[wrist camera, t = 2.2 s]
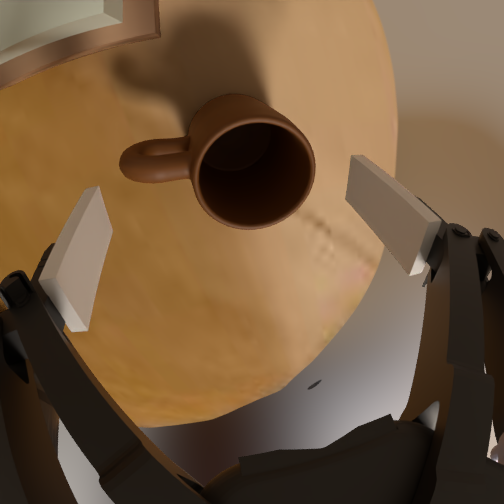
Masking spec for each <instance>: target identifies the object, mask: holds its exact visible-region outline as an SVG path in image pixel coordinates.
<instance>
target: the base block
mask: <svg viewBox="0 0 504 504" xmlns="http://www.w3.org/2000/svg"><path fill="white" fill-rule="evenodd" d="M160 37H161V34H160V19H159V1H158V0H123V23H119V24H114V25H110V26H105V27H101V28H97V29H93V30H90V31H86V32H83V33H79V34H76V35H73V36H69V37H66V38H63V39H60V40H57V41H55V42H52V43H49V44H46V45H44V46H41V47H38V48H36V49H34V50H31V51H29V52H26V53H24V54H22V55H19V56H17V57H15V58H13V59H11V60H9V61H7V62H4V63H2V64H0V90H1V89H4V88H7V87H10V86H12V85H14V84H16V83H18V82H20V81H22V80H25V79H27V78H29V77H31V76H33V75H36V74H38V73H40V72H43V71H45V70H47V69H50V68H52V67H55V66H58V65H60V64H63V63H66V62H68V61H71V60H74V59H77V58H80V57H83V56H86V55H89V54H92V53H96V52H99V51H103V50H106V49H110V48H114V47H118V46H122V45H126V44H130V43H134V42H139V41H144V40H149V39H154V38H160Z"/></svg>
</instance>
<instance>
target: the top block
mask: <svg viewBox="0 0 504 504" xmlns="http://www.w3.org/2000/svg"><path fill="white" fill-rule="evenodd" d="M119 23H123V0H0V64H2V63H4V62H7V61H9V60H11V59H13V58H15V57H17V56H19V55H22V54H24V53H26V52H29V51H31V50H34V49H36V48H38V47H41V46H44V45H46V44H49V43H52V42H55V41H57V40H60V39H63V38H66V37H69V36H73V35H76V34H79V33H83V32H86V31H90V30H93V29H97V28H101V27H105V26H110V25H114V24H119Z"/></svg>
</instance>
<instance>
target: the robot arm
mask: <svg viewBox="0 0 504 504" xmlns="http://www.w3.org/2000/svg"><path fill="white" fill-rule="evenodd" d="M345 199H346V200H347V202H348V203H349V204H350V205H351V206H352V207H353V208H354V209H355V211H356V212H357V213H358V214H359V215H360V216H361V217H362V219H363V220H364V221H365V222H366V223H367V224H368V226H369V227H370V228H371V229H372V230H373V231H374V233H375V234H376V235H377V236H378V237H379V239H380V240H381V241H382V242H383V243H384V245H385V246H386V247H387V248H388V250H389V251H390V252H391V253H392V255H393V256H394V257H395V258H396V260H397V261H398V262H399V263H400V264H401V266H402V267H403V269H404V270H405V271H406V273H407V274H408V275H409V276H411V275H415V274H418V273H422V270H423V268H424V265H425V264H426V262H427V263H428V264H429V265H430V270H429V272H428V274H427V276H426V279H425V281H424V283H423V287H425V285H426V284H427V293H426V304H425V312H424V320H423V328H422V335H421V341H420V348H419V353H418V359H417V364H416V369H415V375H414V379H413V383H412V388H411V392H410V396H409V400H408V403H407V406H406V408H405V410H404V411H403V413H402V415H401V417H400V419H399V420H398V421H397V420H393V418H392V416H391V414H389V415H386V416H384V417H382V418H379V419H377V420H374V421H371V422H369V423H366V424H364V425H361V426H358V427H357V428H355V429H354V430H352V431H351V432H349V433H347V434H346V435H345V436H343V437H341V438H340V439H338V440H336V441H335V442H333V443H332V444H330V445H328V446H327V447H324V448H321V449H301V450H300V449H298V450H275V451H271V452H266V453H261V454H255V455H250V456H244V457H239V464H236V465H234V466H232V467H230V468H228V469H226V470H224V471H223V472H221V473H220V474H219V475H217V476H215V477H214V478H213V479H212V480H211V481H210V482H209V483H208V484H207V485H206V486H205V487H204V486H202V485H201V484H200V483H199V482H197V481H196V480H195V479H194V478H193V477H191V476H190V475H189V474H188V473H186V472H185V471H184V470H183V469H181V468H180V467H179V466H177V465H176V464H175V463H173V461H172V460H170V459H169V458H168V457H167V456H166V455H165V454H164V453H163V452H162V451H161V450H160V449H159V448H158V447H157V446H156V445H155V444H154V443H153V442H152V441H151V440H149V438H148V437H147V436H146V435H145V434H144V433H143V432H142V431H141V430H140V429H139V428H138V427H137V426H136V425H135V424H134V423H133V421H132V420H131V419H130V418H129V417H128V416H127V415H126V414H125V413H124V411H123V410H122V409H121V408H120V407H119V406H118V404H117V403H116V402H115V401H114V400H113V398H112V397H111V396H110V395H109V394H108V392H107V391H106V390H105V389H104V387H103V386H102V385H101V384H100V382H99V381H98V380H97V378H96V377H95V376H94V374H93V373H92V372H91V370H90V369H89V368H88V366H87V365H86V363H85V362H84V361H83V359H82V358H81V356H80V355H79V354H78V352H77V351H76V349H75V348H74V346H73V345H72V343H71V342H70V340H69V339H68V337H67V336H66V334H65V333H64V332H63V329H64V325H65V323H66V324H67V326H68V327H69V329H70V330H71V332H79V331H88V328H89V323H90V318H91V313H92V308H93V304H94V299H95V295H96V291H97V287H98V283H99V279H100V275H101V271H102V267H103V264H104V260H105V256H106V253H107V249H108V246H109V243H110V239H111V236H112V233H113V229H112V226H111V223H110V220H109V217H108V214H107V211H106V208H105V205H104V202H103V198H102V195H101V192H100V188H99V186H96V187H91V188H87V189H85V191H84V192H83V194H82V196H81V197H80V199H79V201H78V202H77V204H76V206H75V208H74V209H73V211H72V213H71V215H70V216H69V218H68V220H67V222H66V224H65V226H64V228H63V229H62V231H61V233H60V235H59V237H58V239H57V241H56V243H53V244H51V245H50V246H49V247H48V248H47V249H46V251H45V252H44V254H43V256H42V258H41V261H40V262H39V264H38V266H37V268H36V270H35V273H34V275H33V277H32V279H31V281H29V279H28V277H27V275H26V274H25V272H23V271H21V270H18V271H14V272H12V273H11V274H9V275H8V276H7V277H5V278H4V279H3V281H2V282H1V284H0V298H1V299H2V300H3V302H4V303H5V305H6V306H7V307H8V310H5V311H3V312H1V313H0V504H78V503H77V501H76V499H75V497H74V495H73V493H72V490H71V488H70V486H69V484H68V482H67V480H66V477H65V475H64V472H63V470H62V468H61V465H60V463H59V460H58V430H59V418H60V419H61V421H62V422H63V424H64V425H65V427H66V429H67V430H68V432H69V433H70V435H71V436H72V438H73V439H74V441H75V442H76V444H77V445H78V447H79V448H80V449H81V451H82V452H83V453H84V455H85V456H86V458H87V459H88V460H89V462H90V463H91V464H92V465H93V467H94V468H95V469H96V471H97V472H98V474H99V476H100V478H99V483H100V485H101V487H102V489H103V490H104V491H105V492H106V494H107V495H108V496H109V498H110V499H111V500H112V501H113V502H114V503H115V504H504V240H503V238H502V237H501V236H500V235H499V234H498V232H496V231H494V230H493V229H489V228H484V229H483V230H482V232H481V234H480V236H479V237H476V236H472V235H471V233H470V232H469V231H468V230H467V229H466V228H464V227H463V226H461V225H459V224H454V223H450V224H447V223H446V222H445V221H444V220H443V219H442V218H441V217H440V216H439V215H438V214H437V213H435V212H434V211H433V210H432V209H431V208H430V207H429V206H427V205H426V204H425V203H424V202H423V201H422V200H421V199H420V198H418V197H416V196H414V195H413V194H412V193H411V192H409V191H408V190H407V189H406V188H405V187H403V186H402V185H401V184H400V183H399V182H397V181H396V180H395V179H394V178H392V177H391V176H390V175H389V174H387V173H386V172H385V171H384V170H382V169H381V168H380V167H378V166H377V165H376V164H374V163H373V162H372V161H370V160H369V159H368V158H366V157H365V156H364V155H351V161H350V169H349V176H348V184H347V191H346V198H345ZM491 270H492V277H491V279H490V280H488V278H487V276H488V274H489V273H490V271H491ZM484 363H485V368H486V374H485V372H484ZM492 420H493V426H494V432H495V436H496V440H497V443H498V445H496V446H495V447H494V448H493V449H492V451H491V455H490V457H491V459H490V458H488V457H487V452H488V446H489V440H490V433H491V425H492Z"/></svg>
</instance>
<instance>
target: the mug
mask: <svg viewBox="0 0 504 504" xmlns="http://www.w3.org/2000/svg"><path fill="white" fill-rule="evenodd" d="M119 167H120V170H121V171H122V173H123V174H124V175H125V177H127V178H129V179H131V180H133V181H135V182H142V183H162V182H168V181H174V180H180V179H190V180H191V182H192V185H193V189H194V192H195V195H196V198H197V200H198V202H199V204H200V205H201V207H202V208H203V209H204V210H205V212H206V213H207V214H208V215H209V216H211V217H212V218H213V219H215V220H216V221H218V222H220V223H222V224H224V225H226V226H229V227H232V228H236V229H244V230H253V229H261V228H265V227H269V226H272V225H275V224H277V223H279V222H281V221H283V220H285V219H286V218H288V217H289V216H290V215H292V214H293V213H294V212H295V211H296V210H297V209H298V208H299V207H300V206H301V205H302V204H303V202H304V201H305V200H306V198H307V196H308V195H309V193H310V190H311V188H312V185H313V182H314V177H315V157H314V153H313V150H312V147H311V145H310V143H309V141H308V140H307V138H306V137H305V136H304V134H303V133H302V132H301V131H300V130H299V129H298V128H297V127H296V126H295V125H294V124H293V123H292V122H291V121H290V120H289V119H288V118H286V117H285V116H283V115H282V114H280V113H279V112H277V111H276V110H274V109H273V108H271V107H269V106H268V105H266V104H264V103H262V102H261V101H259V100H257V99H255V98H253V97H250V96H246V95H241V94H229V95H223V96H220V97H217V98H215V99H213V100H211V101H209V102H208V103H206V104H205V105H204V106H203V107H202V108H201V109H200V110H199V111H198V112H197V113H196V115H195V116H194V118H193V120H192V122H191V124H190V128H189V132H188V136H185V137H180V138H170V139H153V140H147V141H142V142H139V143H136V144H134V145H132V146H130V147H129V148H127V149H126V150H125V151H124V152H123V153H122V155H121V157H120V162H119Z"/></svg>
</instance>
